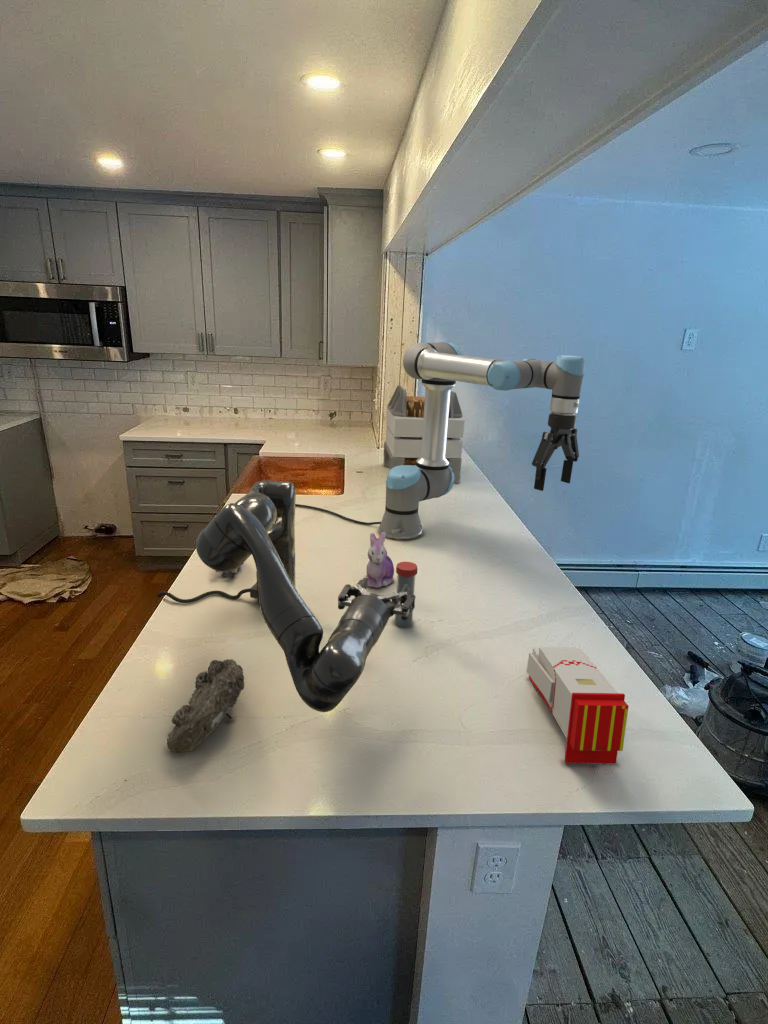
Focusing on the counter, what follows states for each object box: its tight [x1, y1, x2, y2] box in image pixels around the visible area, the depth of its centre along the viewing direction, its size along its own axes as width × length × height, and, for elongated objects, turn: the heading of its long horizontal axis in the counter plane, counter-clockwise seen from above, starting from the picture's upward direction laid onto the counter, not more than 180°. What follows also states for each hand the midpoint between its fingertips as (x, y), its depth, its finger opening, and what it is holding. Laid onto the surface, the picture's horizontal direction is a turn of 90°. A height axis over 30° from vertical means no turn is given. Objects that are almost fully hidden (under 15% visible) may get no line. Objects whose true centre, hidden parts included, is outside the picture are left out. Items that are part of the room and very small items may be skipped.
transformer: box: [383, 384, 465, 484], centre depth 268 cm, size 34×33×41 cm
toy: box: [526, 646, 629, 765], centre depth 112 cm, size 12×13×30 cm
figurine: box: [365, 532, 395, 589], centre depth 162 cm, size 9×10×15 cm
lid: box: [395, 561, 418, 577], centre depth 139 cm, size 5×5×2 cm
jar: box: [394, 573, 416, 628], centre depth 141 cm, size 4×4×15 cm
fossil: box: [166, 658, 245, 754], centre depth 106 cm, size 22×10×15 cm
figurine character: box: [214, 562, 245, 578], centre depth 166 cm, size 7×8×15 cm
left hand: (386, 585), depth 116 cm, fingers open, 8 cm apart
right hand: (552, 485), depth 166 cm, fingers open, 13 cm apart
